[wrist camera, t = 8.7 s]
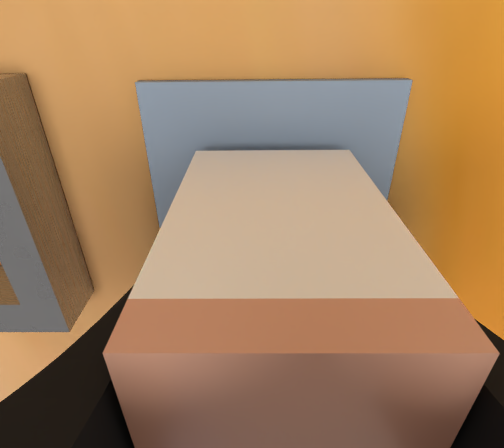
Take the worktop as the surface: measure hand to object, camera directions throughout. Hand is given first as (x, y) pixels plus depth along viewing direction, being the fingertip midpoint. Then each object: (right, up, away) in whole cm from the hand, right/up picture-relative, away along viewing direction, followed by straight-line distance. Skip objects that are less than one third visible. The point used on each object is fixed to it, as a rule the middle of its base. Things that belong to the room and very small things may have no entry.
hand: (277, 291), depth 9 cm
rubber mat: (0, +3, +5) cm, 5 cm away
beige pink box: (0, +2, +3) cm, 4 cm away
